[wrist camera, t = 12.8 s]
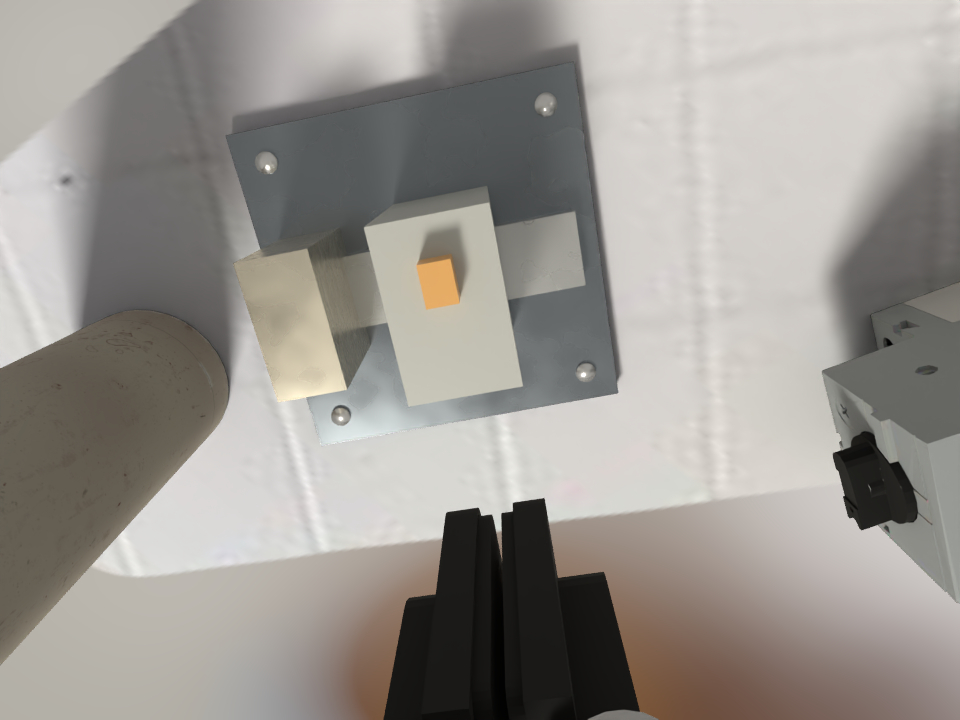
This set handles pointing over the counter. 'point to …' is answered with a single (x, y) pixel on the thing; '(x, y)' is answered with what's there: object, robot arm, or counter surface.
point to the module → (445, 296)
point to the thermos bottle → (93, 448)
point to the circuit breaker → (906, 432)
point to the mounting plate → (406, 177)
